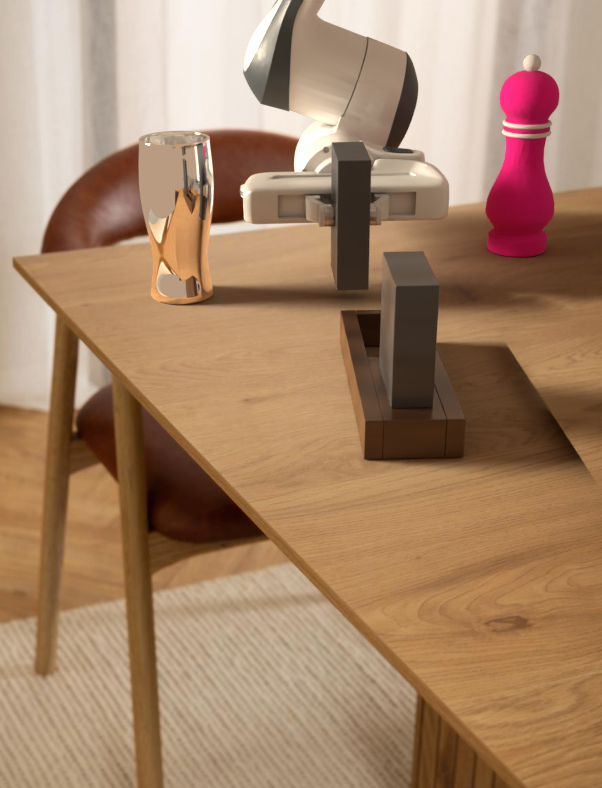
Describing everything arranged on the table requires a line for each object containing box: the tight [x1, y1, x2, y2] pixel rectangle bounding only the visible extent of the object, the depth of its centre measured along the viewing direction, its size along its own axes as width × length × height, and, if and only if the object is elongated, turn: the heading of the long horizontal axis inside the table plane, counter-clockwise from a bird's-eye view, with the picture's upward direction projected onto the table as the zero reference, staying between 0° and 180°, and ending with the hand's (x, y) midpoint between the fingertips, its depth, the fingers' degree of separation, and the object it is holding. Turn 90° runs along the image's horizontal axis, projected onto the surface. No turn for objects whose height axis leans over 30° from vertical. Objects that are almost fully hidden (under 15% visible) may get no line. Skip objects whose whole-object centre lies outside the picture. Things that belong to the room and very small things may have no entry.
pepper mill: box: [484, 53, 560, 258], centre depth 123 cm, size 7×7×20 cm
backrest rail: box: [339, 250, 466, 460], centre depth 91 cm, size 23×7×12 cm, turn 2°
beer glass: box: [138, 130, 215, 305], centre depth 112 cm, size 7×7×15 cm
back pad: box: [330, 142, 371, 292], centre depth 111 cm, size 8×3×12 cm, turn 2°
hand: (351, 217), depth 111 cm, fingers closed on back pad, 3 cm apart
